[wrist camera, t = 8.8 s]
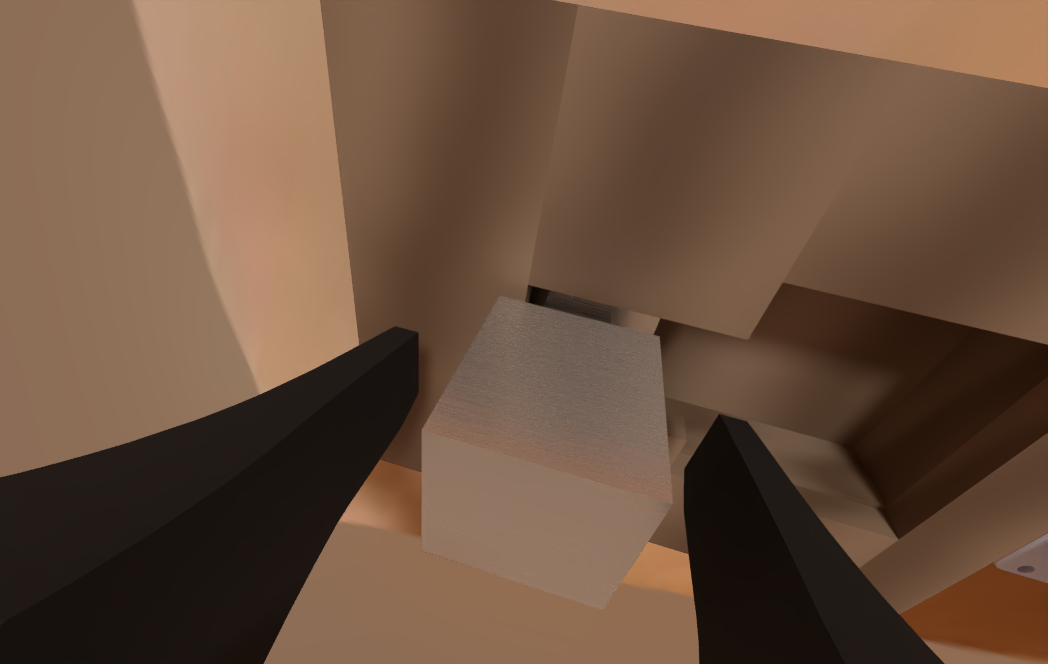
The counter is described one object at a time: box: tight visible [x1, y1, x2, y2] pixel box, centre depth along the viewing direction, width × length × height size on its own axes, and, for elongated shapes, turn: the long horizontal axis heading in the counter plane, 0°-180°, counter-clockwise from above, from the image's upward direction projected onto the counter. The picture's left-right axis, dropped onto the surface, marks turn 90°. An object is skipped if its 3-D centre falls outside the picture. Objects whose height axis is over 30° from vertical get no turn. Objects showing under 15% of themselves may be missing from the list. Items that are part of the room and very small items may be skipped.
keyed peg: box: [421, 286, 673, 610], centre depth 11 cm, size 5×5×8 cm
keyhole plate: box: [320, 0, 1048, 615], centre depth 13 cm, size 20×15×4 cm
